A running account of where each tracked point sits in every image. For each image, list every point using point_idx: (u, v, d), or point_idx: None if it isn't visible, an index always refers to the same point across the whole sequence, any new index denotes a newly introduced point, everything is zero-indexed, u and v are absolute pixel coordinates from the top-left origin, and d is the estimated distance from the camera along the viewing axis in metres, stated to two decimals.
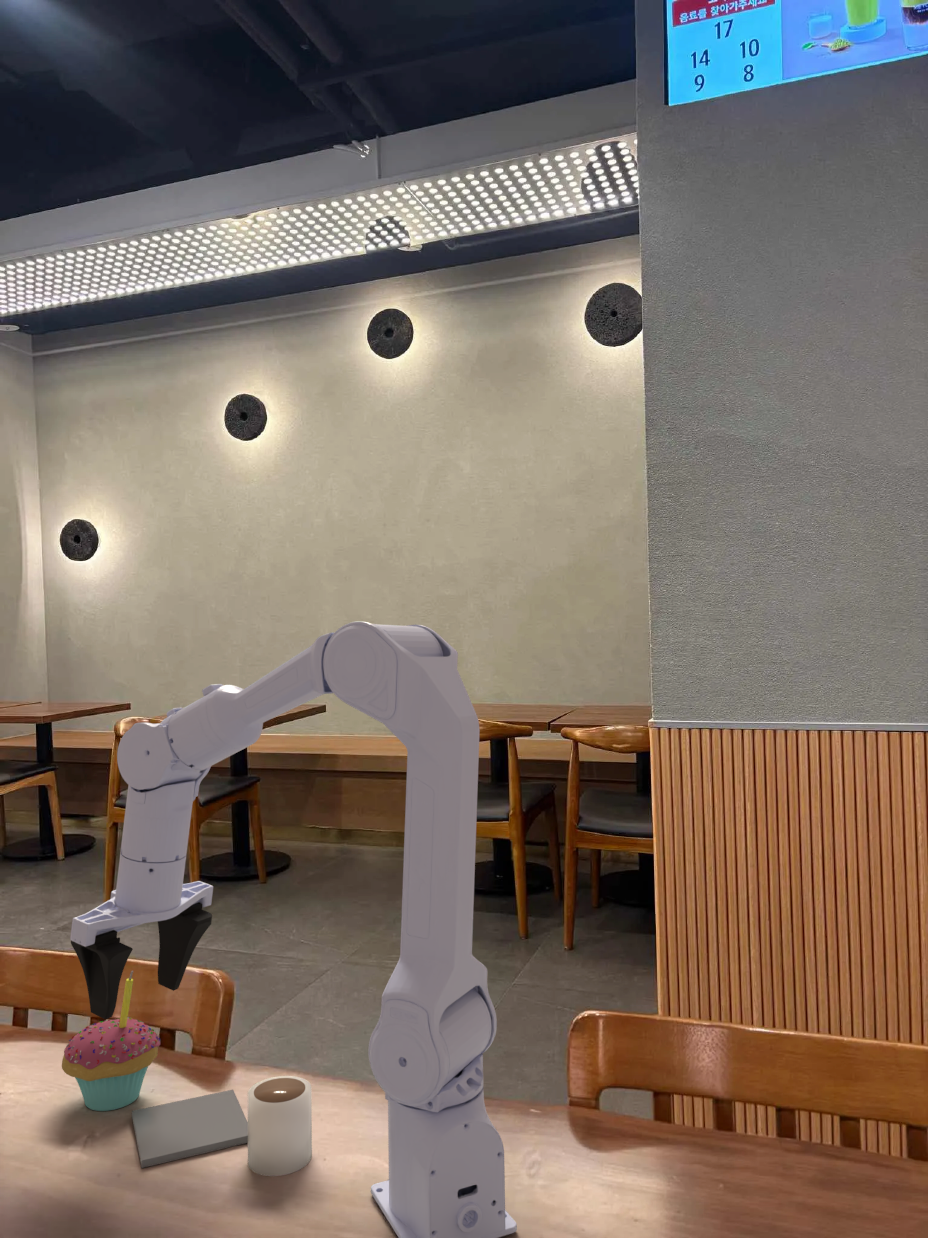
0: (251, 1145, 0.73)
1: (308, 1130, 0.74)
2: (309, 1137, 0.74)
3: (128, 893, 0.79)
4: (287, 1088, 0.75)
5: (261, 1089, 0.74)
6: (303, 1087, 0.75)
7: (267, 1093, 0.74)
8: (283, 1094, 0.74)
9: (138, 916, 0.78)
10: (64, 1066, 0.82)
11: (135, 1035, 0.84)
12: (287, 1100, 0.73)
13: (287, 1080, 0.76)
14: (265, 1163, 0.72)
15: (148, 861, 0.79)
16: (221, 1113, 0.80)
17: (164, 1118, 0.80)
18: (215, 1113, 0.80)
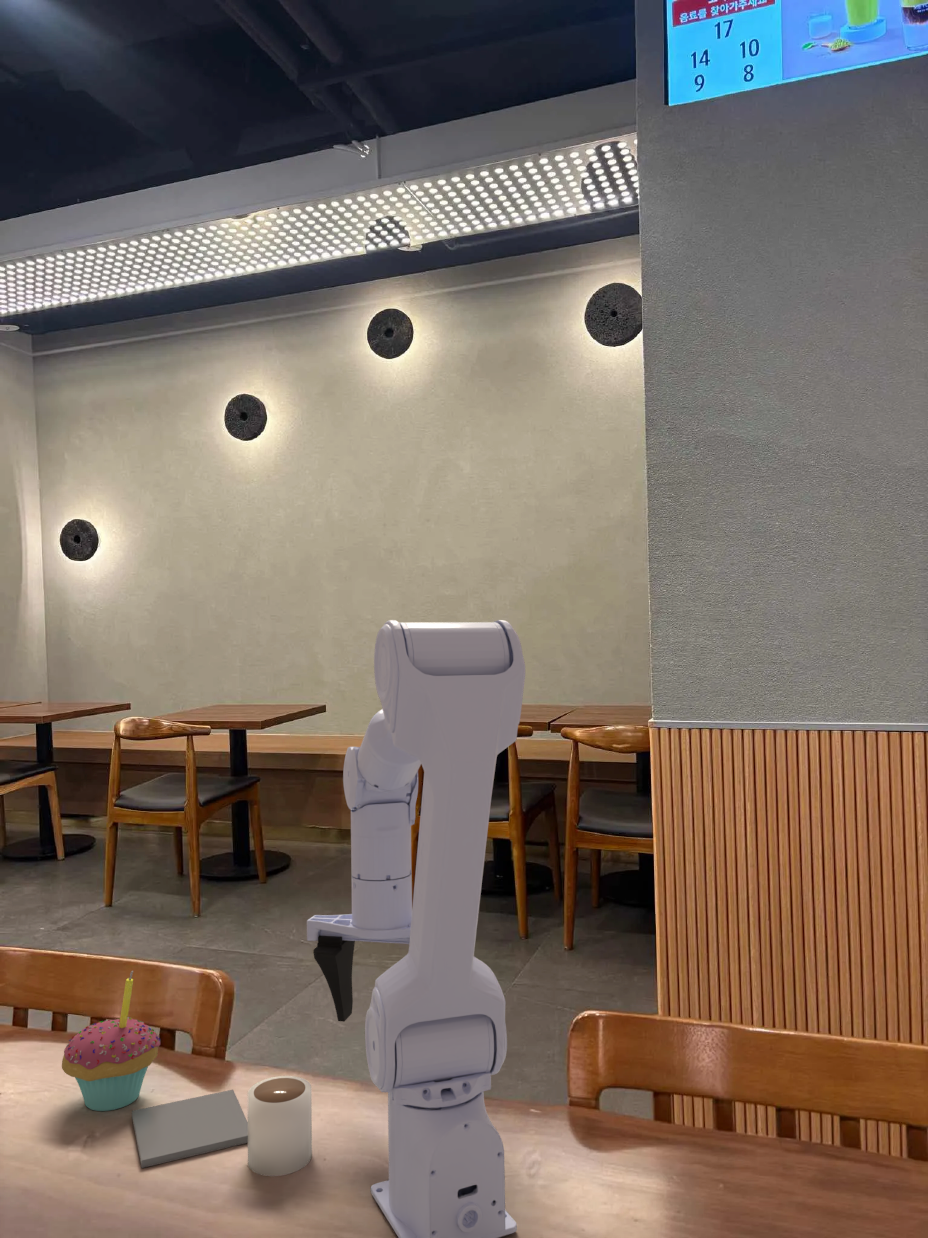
0: (251, 1145, 0.73)
1: (308, 1130, 0.74)
2: (309, 1137, 0.74)
3: None
4: (287, 1088, 0.75)
5: (261, 1089, 0.74)
6: (303, 1087, 0.75)
7: (267, 1093, 0.74)
8: (283, 1094, 0.74)
9: (344, 926, 0.84)
10: (64, 1066, 0.82)
11: (135, 1035, 0.84)
12: (287, 1100, 0.73)
13: (287, 1080, 0.76)
14: (265, 1163, 0.72)
15: (353, 876, 0.84)
16: (221, 1113, 0.80)
17: (164, 1118, 0.80)
18: (215, 1113, 0.80)
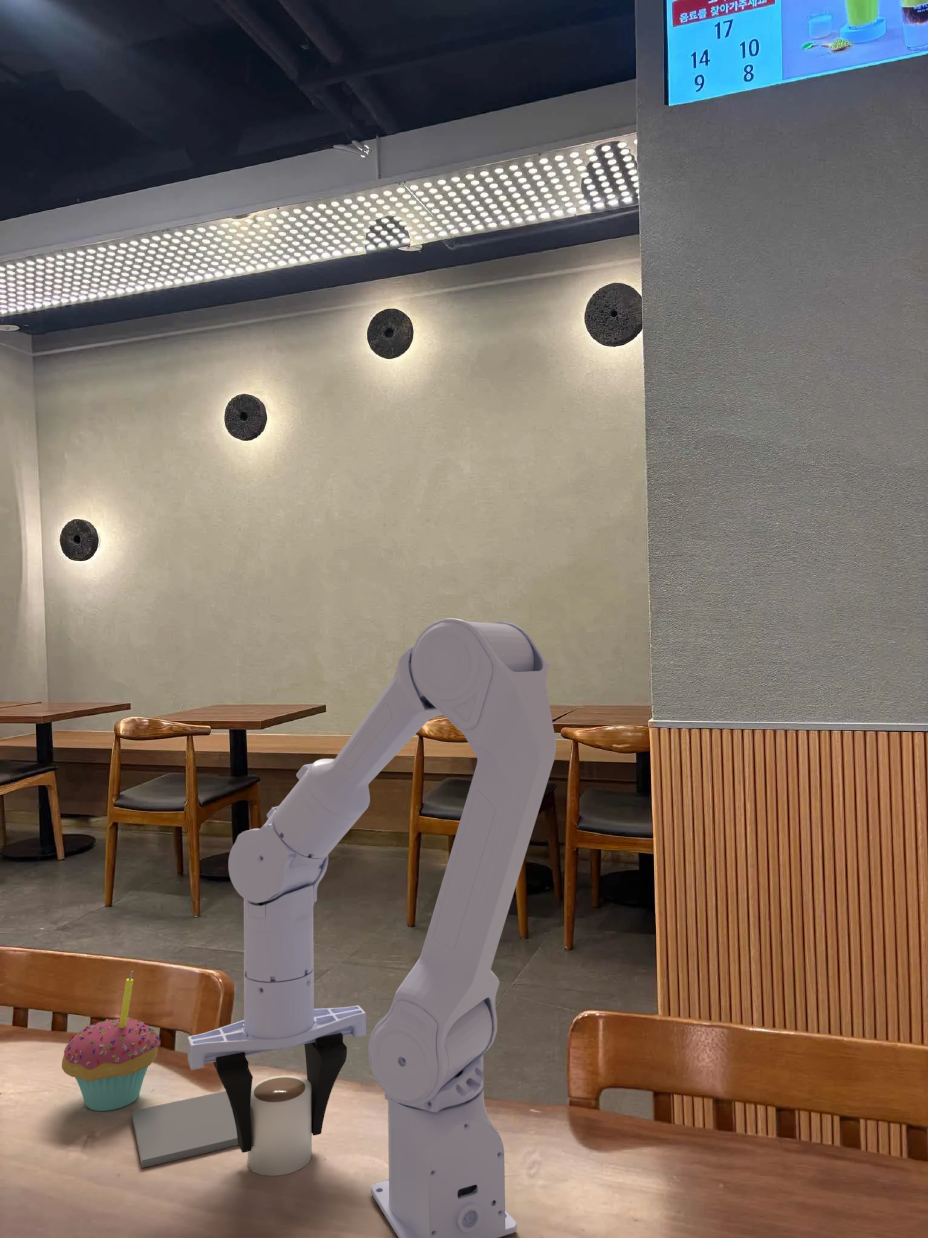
0: (251, 1145, 0.73)
1: (308, 1129, 0.74)
2: (309, 1136, 0.74)
3: (246, 1014, 0.73)
4: (287, 1087, 0.75)
5: (261, 1089, 0.74)
6: (303, 1086, 0.75)
7: (267, 1092, 0.74)
8: (283, 1093, 0.74)
9: (248, 1041, 0.71)
10: (64, 1066, 0.82)
11: (135, 1035, 0.84)
12: (287, 1099, 0.73)
13: (287, 1079, 0.76)
14: (265, 1162, 0.72)
15: (257, 979, 0.72)
16: (221, 1113, 0.80)
17: (164, 1118, 0.80)
18: (215, 1113, 0.80)
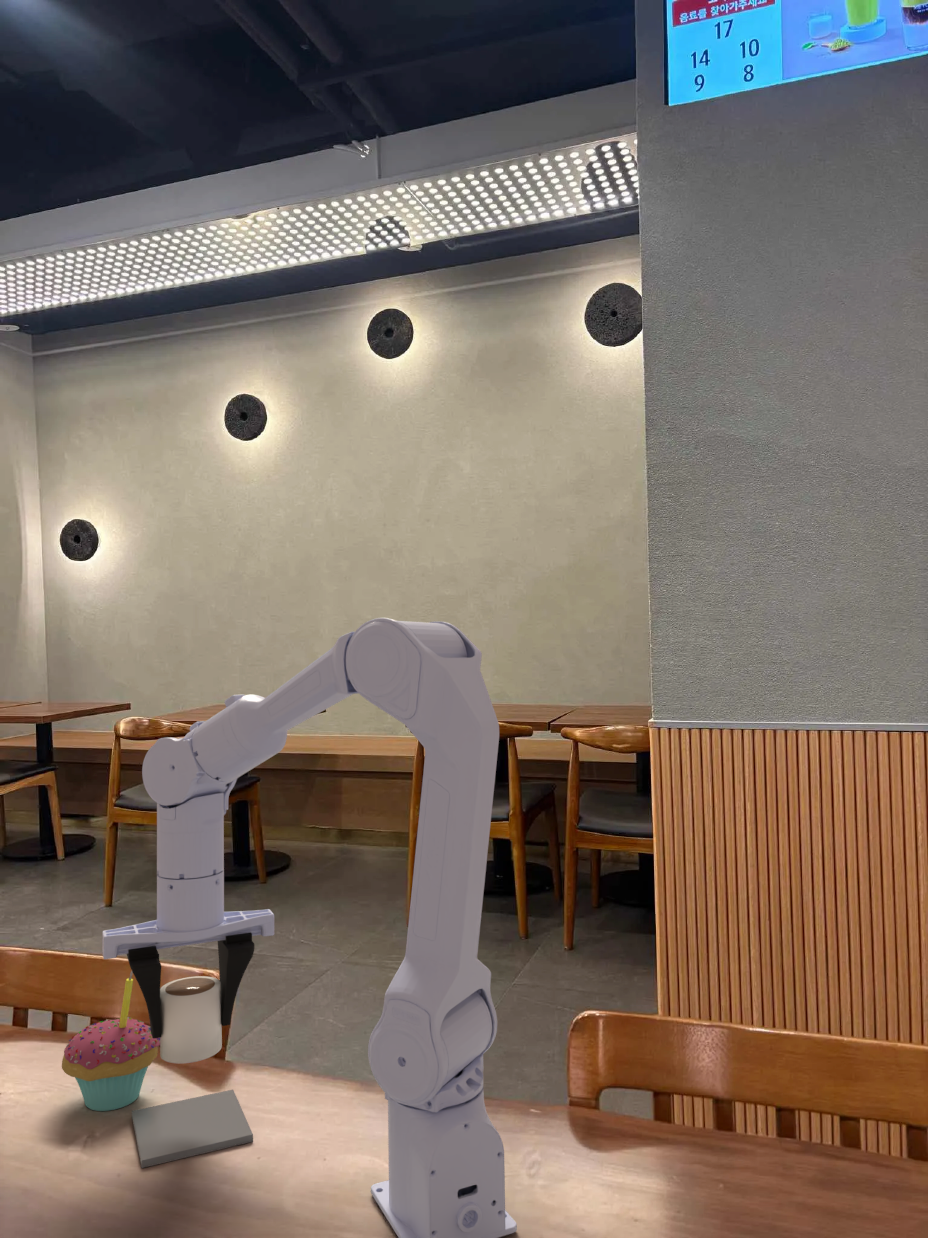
0: (163, 1037, 0.77)
1: (217, 1022, 0.79)
2: (219, 1028, 0.79)
3: (158, 910, 0.78)
4: (197, 985, 0.80)
5: (172, 986, 0.79)
6: (213, 983, 0.80)
7: (178, 989, 0.79)
8: (193, 989, 0.79)
9: (158, 934, 0.77)
10: (64, 1066, 0.82)
11: (135, 1035, 0.84)
12: (196, 993, 0.78)
13: (197, 979, 0.81)
14: (176, 1051, 0.77)
15: (167, 877, 0.77)
16: (221, 1113, 0.80)
17: (164, 1118, 0.80)
18: (215, 1113, 0.80)
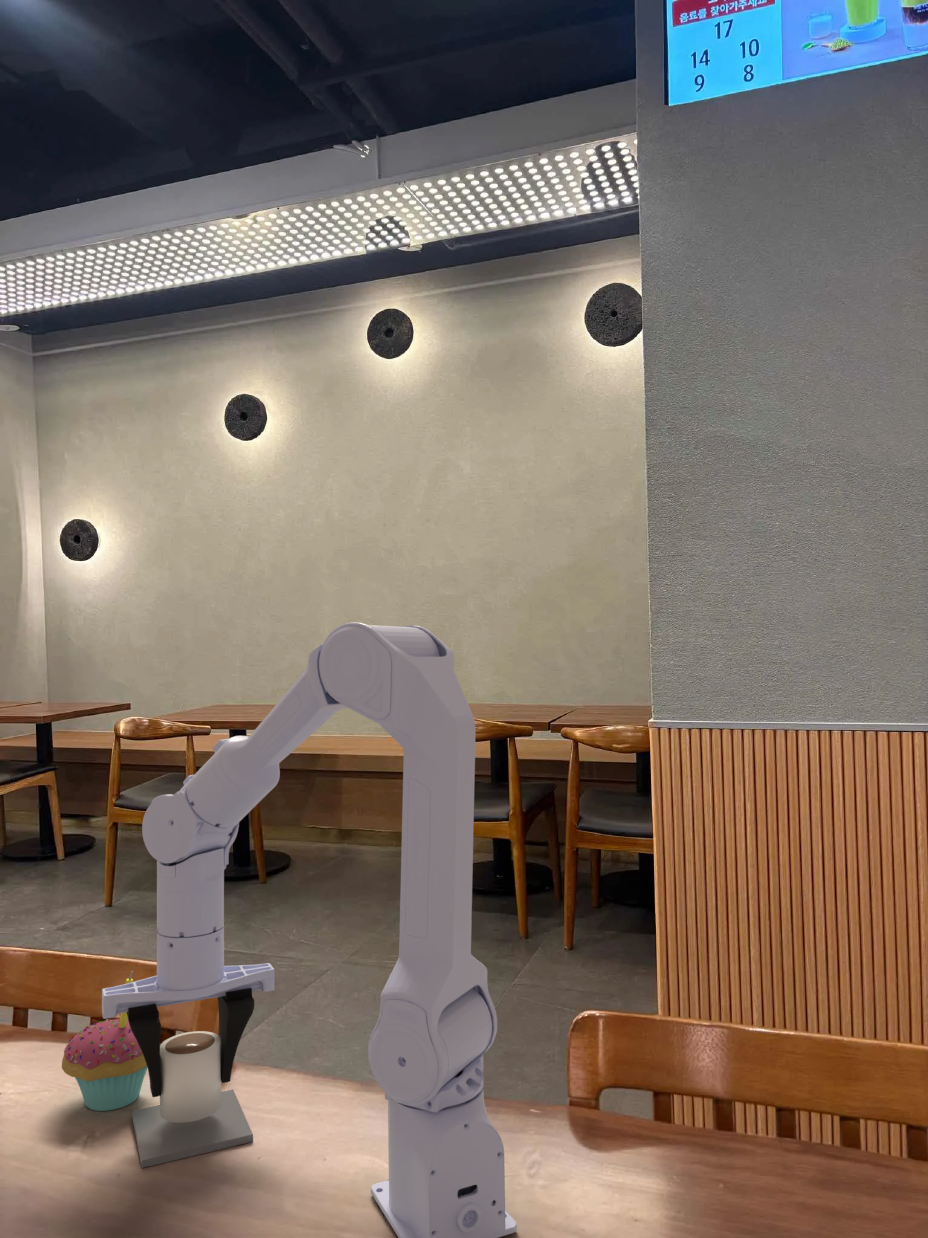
0: (163, 1095, 0.77)
1: (217, 1079, 0.79)
2: (218, 1086, 0.79)
3: (158, 968, 0.78)
4: (197, 1041, 0.79)
5: (172, 1043, 0.79)
6: (212, 1040, 0.80)
7: (178, 1046, 0.78)
8: (193, 1046, 0.78)
9: (158, 993, 0.76)
10: (64, 1066, 0.82)
11: None
12: (196, 1051, 0.77)
13: (197, 1034, 0.81)
14: (176, 1110, 0.76)
15: (167, 935, 0.77)
16: (221, 1113, 0.80)
17: None
18: (215, 1113, 0.80)
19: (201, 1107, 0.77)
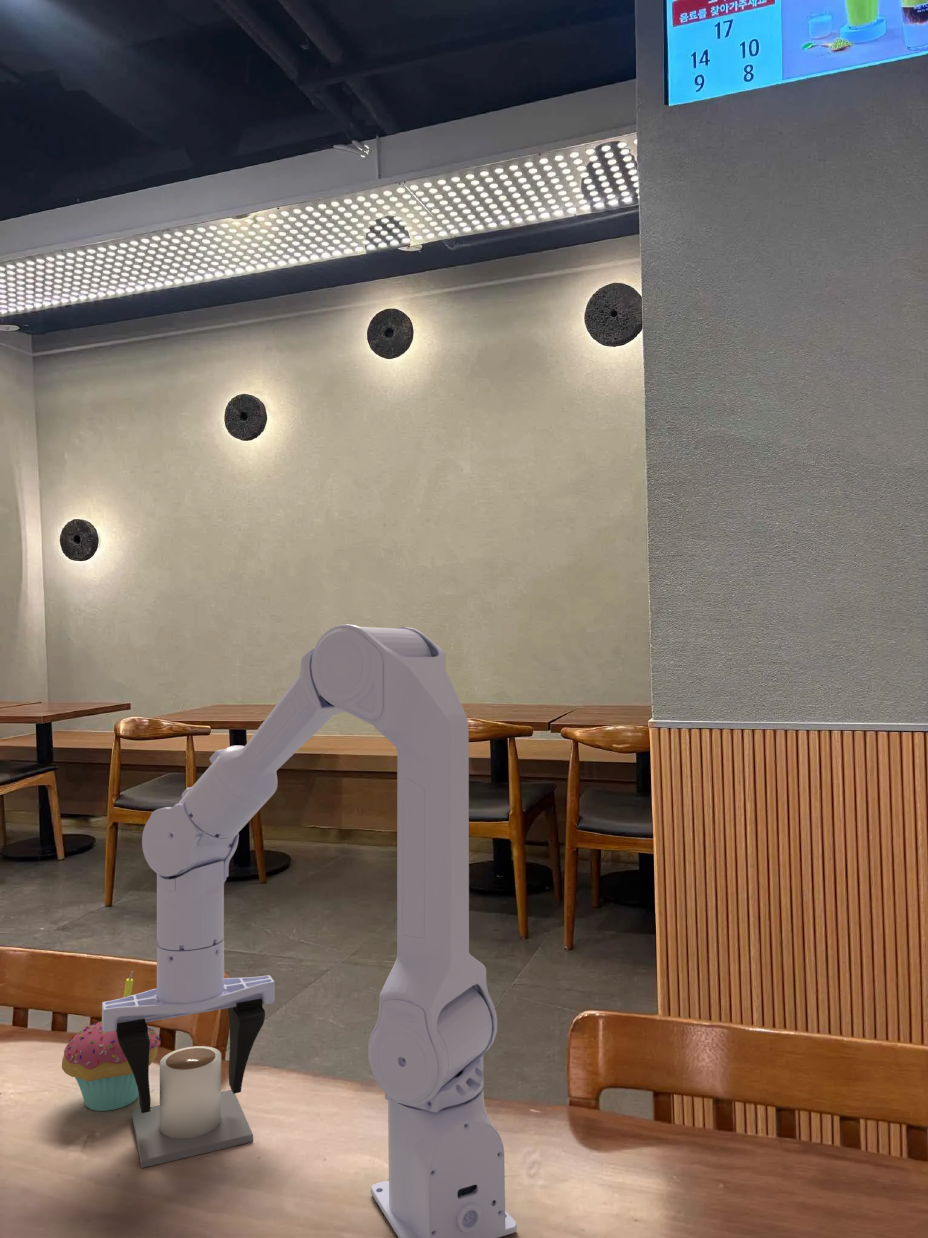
0: (163, 1110, 0.77)
1: (217, 1095, 0.78)
2: (218, 1102, 0.79)
3: (158, 981, 0.78)
4: (198, 1057, 0.79)
5: (173, 1058, 0.79)
6: (213, 1055, 0.80)
7: (178, 1061, 0.78)
8: (194, 1062, 0.78)
9: (158, 1006, 0.76)
10: (64, 1066, 0.82)
11: None
12: (197, 1067, 0.77)
13: (198, 1050, 0.81)
14: (176, 1126, 0.76)
15: (167, 948, 0.77)
16: (221, 1113, 0.80)
17: None
18: None
19: (201, 1123, 0.77)
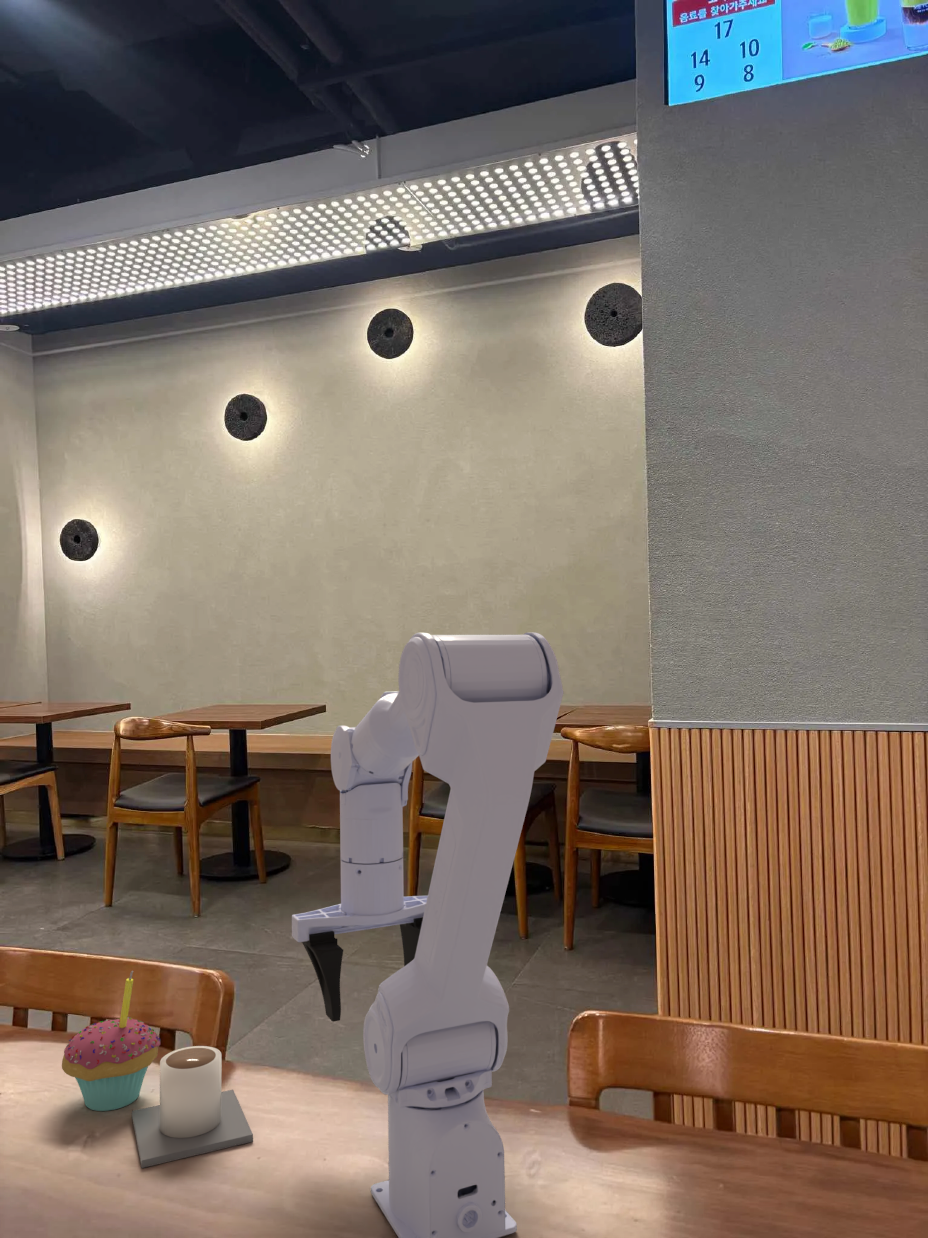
0: (163, 1110, 0.77)
1: (218, 1094, 0.79)
2: (219, 1101, 0.79)
3: (344, 895, 0.80)
4: (198, 1056, 0.79)
5: (173, 1058, 0.79)
6: (213, 1055, 0.80)
7: (179, 1061, 0.78)
8: (194, 1061, 0.78)
9: (349, 917, 0.79)
10: (64, 1066, 0.82)
11: (135, 1035, 0.84)
12: (197, 1066, 0.77)
13: (198, 1049, 0.81)
14: (176, 1126, 0.76)
15: (355, 862, 0.80)
16: (221, 1113, 0.80)
17: None
18: None
19: (201, 1122, 0.77)
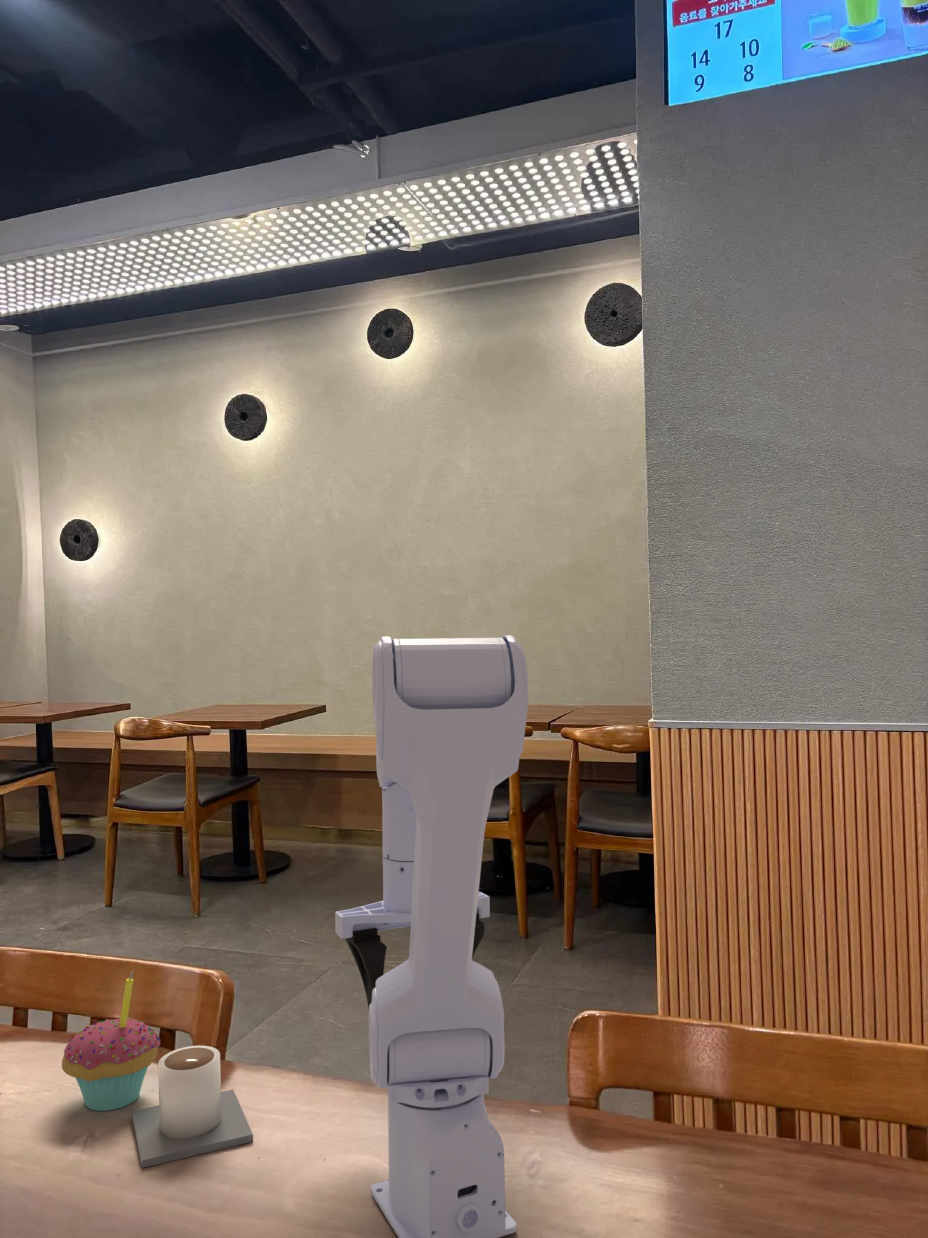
0: (163, 1111, 0.77)
1: (217, 1094, 0.78)
2: (218, 1100, 0.79)
3: (387, 892, 0.81)
4: (196, 1056, 0.79)
5: (171, 1059, 0.79)
6: (212, 1054, 0.80)
7: (177, 1062, 0.78)
8: (193, 1062, 0.78)
9: (392, 914, 0.79)
10: (64, 1066, 0.82)
11: (135, 1035, 0.84)
12: (196, 1067, 0.77)
13: (196, 1049, 0.81)
14: (176, 1126, 0.76)
15: (398, 860, 0.80)
16: (221, 1113, 0.80)
17: None
18: None
19: (201, 1122, 0.77)
